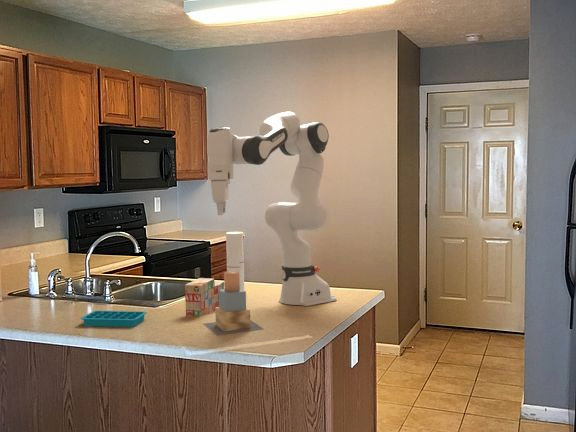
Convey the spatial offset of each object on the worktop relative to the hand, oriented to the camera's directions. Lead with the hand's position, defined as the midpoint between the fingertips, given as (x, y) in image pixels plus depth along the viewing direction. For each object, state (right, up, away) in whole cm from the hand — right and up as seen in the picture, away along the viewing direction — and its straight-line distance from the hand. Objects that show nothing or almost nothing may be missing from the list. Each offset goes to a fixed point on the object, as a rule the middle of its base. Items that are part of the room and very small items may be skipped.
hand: (221, 213), depth 221 cm
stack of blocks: (-7, -36, +15) cm, 40 cm away
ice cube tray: (-38, -39, +1) cm, 54 cm away
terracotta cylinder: (+5, -25, -12) cm, 28 cm away
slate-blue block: (+5, -31, -12) cm, 34 cm away
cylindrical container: (+1, -33, +49) cm, 59 cm away
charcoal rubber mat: (+5, -38, -11) cm, 40 cm away
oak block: (+5, -37, -11) cm, 39 cm away
